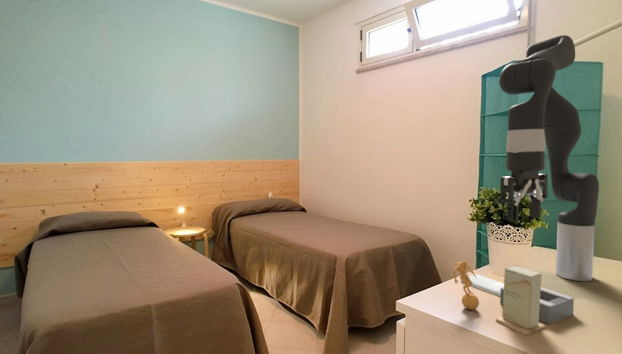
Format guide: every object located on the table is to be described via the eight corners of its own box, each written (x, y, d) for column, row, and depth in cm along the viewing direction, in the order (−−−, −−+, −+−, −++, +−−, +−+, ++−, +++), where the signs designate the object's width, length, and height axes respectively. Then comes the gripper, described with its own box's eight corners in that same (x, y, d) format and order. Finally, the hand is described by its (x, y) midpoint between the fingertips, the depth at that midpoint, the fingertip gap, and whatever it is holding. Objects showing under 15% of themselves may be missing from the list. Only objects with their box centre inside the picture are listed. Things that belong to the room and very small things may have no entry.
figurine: (467, 316, 82) (468, 268, 81) (446, 307, 87) (446, 261, 86) (487, 308, 86) (488, 262, 85) (465, 299, 91) (466, 256, 90)
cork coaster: (514, 314, 82) (514, 312, 82) (545, 327, 76) (545, 324, 76) (496, 321, 79) (496, 318, 79) (526, 335, 73) (526, 332, 73)
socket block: (523, 296, 93) (524, 281, 93) (573, 314, 82) (573, 297, 82) (500, 303, 88) (500, 287, 88) (549, 323, 78) (549, 306, 77)
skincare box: (501, 317, 80) (502, 267, 79) (512, 313, 82) (514, 264, 81) (529, 329, 74) (530, 276, 73) (540, 325, 76) (542, 272, 75)
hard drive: (460, 278, 104) (500, 292, 93) (477, 273, 108) (516, 286, 97) (460, 284, 104) (500, 298, 93) (476, 278, 108) (516, 292, 97)
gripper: (527, 149, 84) (525, 213, 85) (489, 150, 77) (489, 220, 78) (560, 149, 77) (558, 218, 78) (522, 150, 70) (521, 226, 72)
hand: (523, 219), depth 78 cm, fingers open, 8 cm apart
